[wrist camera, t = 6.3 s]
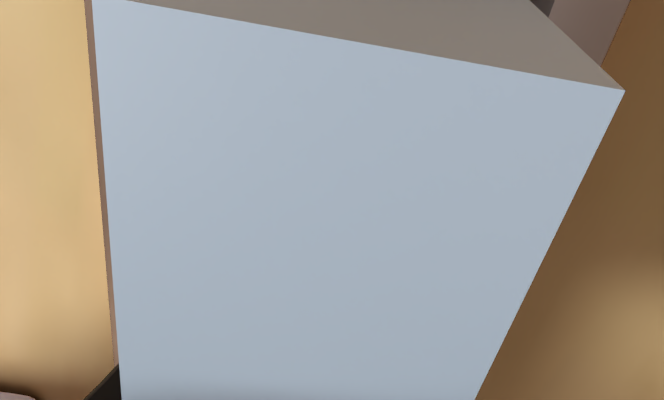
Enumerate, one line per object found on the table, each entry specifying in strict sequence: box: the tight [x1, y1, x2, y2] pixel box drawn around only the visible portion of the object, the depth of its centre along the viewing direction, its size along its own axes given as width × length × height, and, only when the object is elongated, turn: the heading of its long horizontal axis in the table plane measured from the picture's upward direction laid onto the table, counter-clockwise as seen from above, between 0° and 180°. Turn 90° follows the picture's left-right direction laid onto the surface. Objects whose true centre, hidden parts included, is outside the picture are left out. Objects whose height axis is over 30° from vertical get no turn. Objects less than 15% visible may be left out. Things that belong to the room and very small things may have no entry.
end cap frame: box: [84, 0, 631, 368], centre depth 13 cm, size 10×20×4 cm, turn 171°
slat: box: [92, 0, 626, 400], centre depth 10 cm, size 4×15×6 cm, turn 171°
